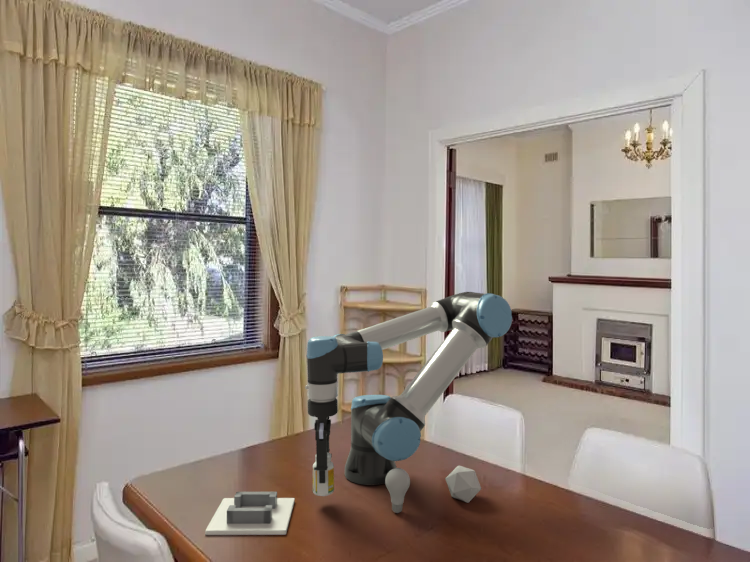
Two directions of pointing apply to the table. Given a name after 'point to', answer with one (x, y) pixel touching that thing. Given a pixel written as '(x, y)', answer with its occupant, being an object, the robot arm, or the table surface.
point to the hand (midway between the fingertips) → (323, 488)
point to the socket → (252, 515)
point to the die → (463, 483)
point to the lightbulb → (397, 487)
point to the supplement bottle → (330, 476)
